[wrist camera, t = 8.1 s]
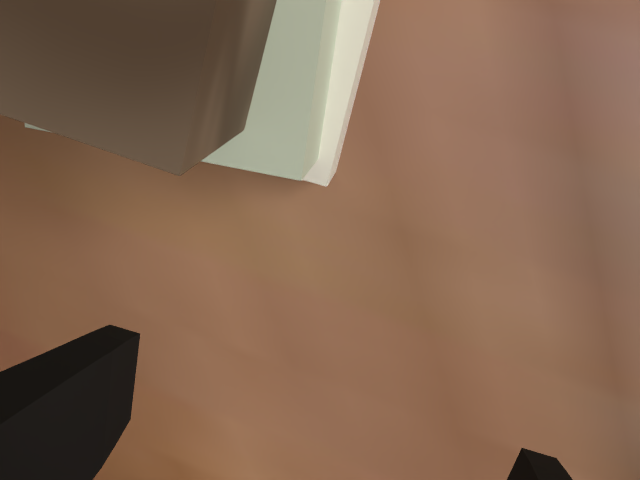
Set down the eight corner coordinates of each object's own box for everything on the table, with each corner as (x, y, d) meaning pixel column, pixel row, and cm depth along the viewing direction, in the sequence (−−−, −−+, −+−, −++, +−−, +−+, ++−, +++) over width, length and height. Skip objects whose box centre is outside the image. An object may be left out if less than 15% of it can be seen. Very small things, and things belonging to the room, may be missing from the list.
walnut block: (244, 130, 15) (179, 176, 11) (82, 75, 15) (-45, 99, 11) (290, -56, 13) (235, -88, 9) (106, -118, 13) (-34, -178, 9)
